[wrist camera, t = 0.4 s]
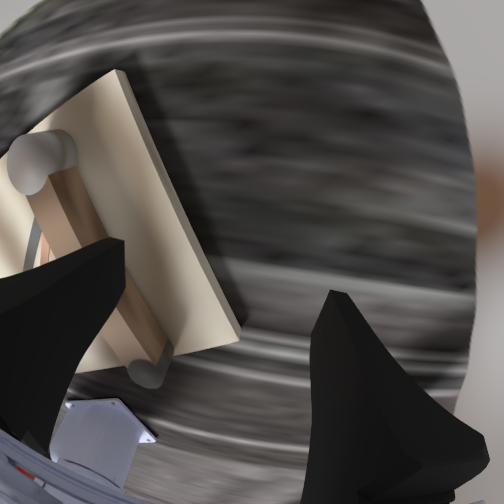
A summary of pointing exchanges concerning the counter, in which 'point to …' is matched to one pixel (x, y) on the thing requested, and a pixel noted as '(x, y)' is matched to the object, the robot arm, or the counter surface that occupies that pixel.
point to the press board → (126, 221)
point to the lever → (85, 244)
